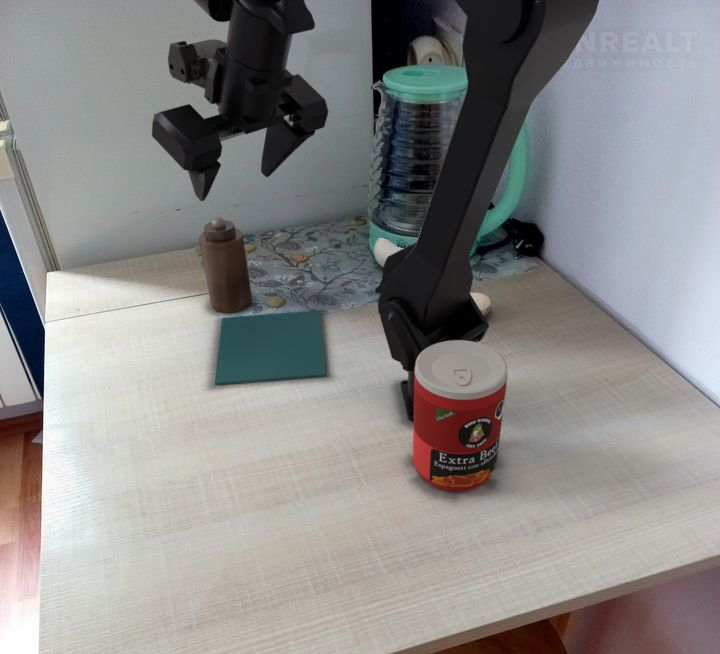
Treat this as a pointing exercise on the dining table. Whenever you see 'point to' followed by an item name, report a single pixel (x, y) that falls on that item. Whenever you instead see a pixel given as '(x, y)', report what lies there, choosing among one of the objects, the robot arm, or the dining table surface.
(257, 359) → the napkin
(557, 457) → the dining table surface
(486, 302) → the cream clam shell
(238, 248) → the pepper mill
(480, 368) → the canned food
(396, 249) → the donut
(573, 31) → the robot arm
